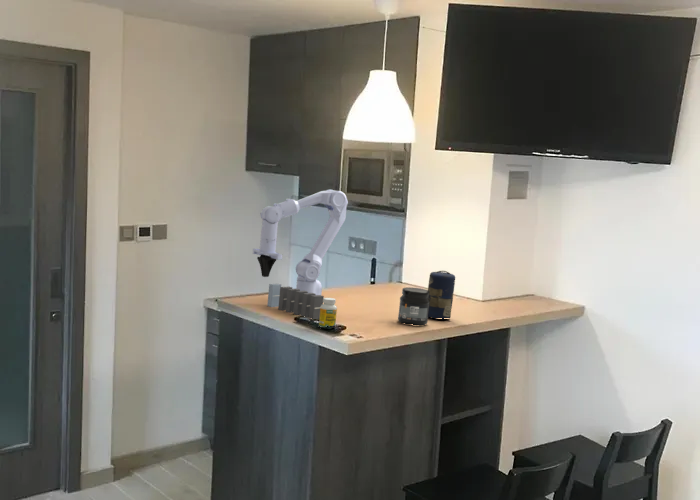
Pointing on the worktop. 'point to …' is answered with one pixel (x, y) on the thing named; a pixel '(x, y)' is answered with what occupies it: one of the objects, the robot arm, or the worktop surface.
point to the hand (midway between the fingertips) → (265, 276)
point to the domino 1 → (273, 295)
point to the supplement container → (414, 306)
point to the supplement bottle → (328, 312)
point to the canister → (440, 294)
